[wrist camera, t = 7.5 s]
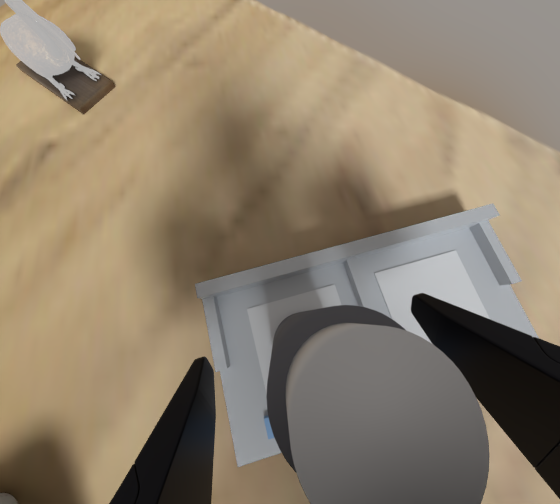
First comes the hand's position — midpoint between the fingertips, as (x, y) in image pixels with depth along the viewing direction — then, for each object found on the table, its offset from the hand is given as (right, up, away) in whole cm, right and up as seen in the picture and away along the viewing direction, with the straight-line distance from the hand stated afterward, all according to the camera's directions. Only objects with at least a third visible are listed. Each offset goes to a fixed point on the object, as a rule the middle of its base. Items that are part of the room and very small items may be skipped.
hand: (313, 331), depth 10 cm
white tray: (+5, -2, +8) cm, 10 cm away
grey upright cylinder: (0, -3, +7) cm, 8 cm away
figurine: (-22, +20, +15) cm, 33 cm away
